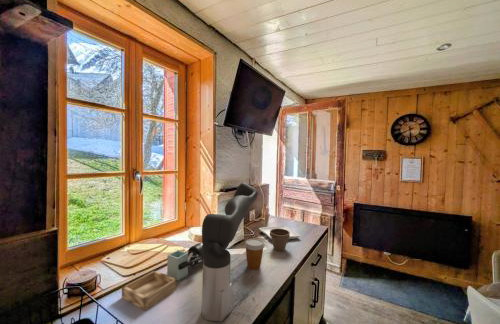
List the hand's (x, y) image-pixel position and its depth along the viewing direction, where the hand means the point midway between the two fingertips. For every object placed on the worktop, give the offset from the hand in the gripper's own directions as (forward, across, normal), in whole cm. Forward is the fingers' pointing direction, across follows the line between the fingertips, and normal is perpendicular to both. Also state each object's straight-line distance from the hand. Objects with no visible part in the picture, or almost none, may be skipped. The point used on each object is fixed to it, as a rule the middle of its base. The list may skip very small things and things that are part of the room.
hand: (173, 265), depth 94 cm
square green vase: (-2, 0, +6) cm, 6 cm away
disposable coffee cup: (-28, +24, +6) cm, 37 cm away
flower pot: (-54, +27, +6) cm, 61 cm away
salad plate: (-74, +19, +7) cm, 77 cm away
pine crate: (+11, 0, +6) cm, 13 cm away
